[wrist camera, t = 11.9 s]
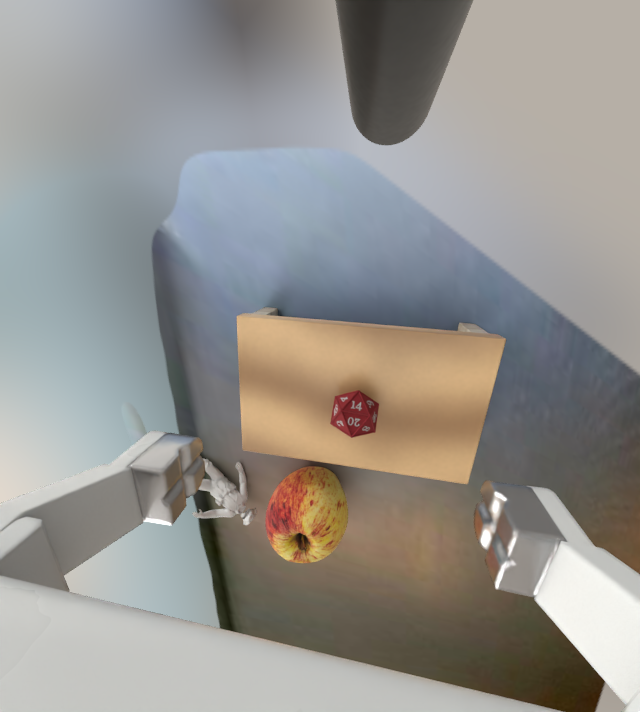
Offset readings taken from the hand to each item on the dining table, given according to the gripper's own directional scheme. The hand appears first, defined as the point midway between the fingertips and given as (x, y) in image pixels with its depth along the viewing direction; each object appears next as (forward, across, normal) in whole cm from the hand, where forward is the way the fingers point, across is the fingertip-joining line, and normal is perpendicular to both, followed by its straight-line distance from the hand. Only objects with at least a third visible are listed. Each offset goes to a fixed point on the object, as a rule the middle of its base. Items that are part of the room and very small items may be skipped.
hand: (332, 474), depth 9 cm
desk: (+23, 0, +7) cm, 24 cm away
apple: (+23, +4, +22) cm, 32 cm away
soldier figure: (+23, +17, +24) cm, 37 cm away
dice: (+17, 0, +7) cm, 18 cm away
